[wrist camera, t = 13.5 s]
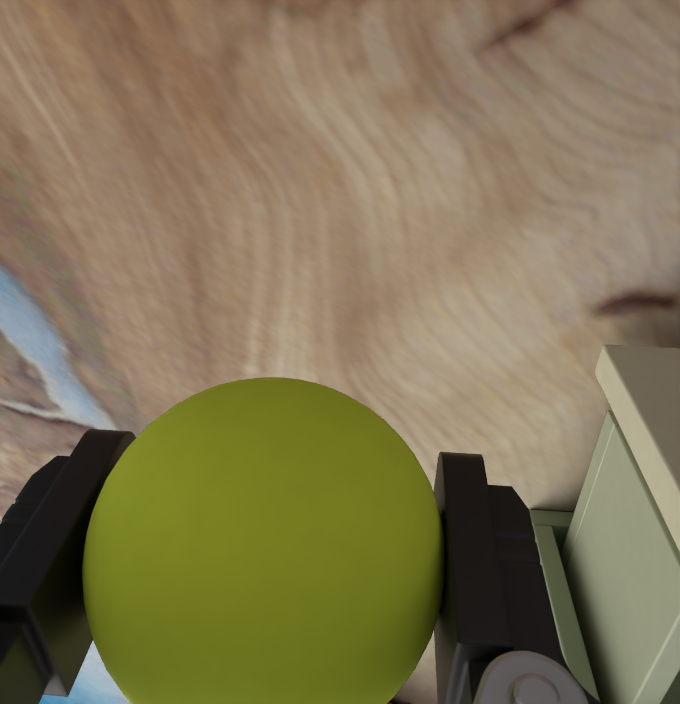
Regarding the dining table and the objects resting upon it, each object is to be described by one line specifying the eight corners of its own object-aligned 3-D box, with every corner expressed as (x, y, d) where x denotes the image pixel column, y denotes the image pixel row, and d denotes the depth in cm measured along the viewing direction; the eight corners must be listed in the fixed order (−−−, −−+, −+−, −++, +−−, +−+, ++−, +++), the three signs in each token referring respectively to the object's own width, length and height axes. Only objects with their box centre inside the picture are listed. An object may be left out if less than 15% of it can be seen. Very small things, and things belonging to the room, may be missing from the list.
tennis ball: (451, 321, 11) (494, 618, 6) (424, 539, 14) (436, 848, 9) (132, 306, 11) (-65, 575, 6) (175, 521, 14) (64, 810, 9)
